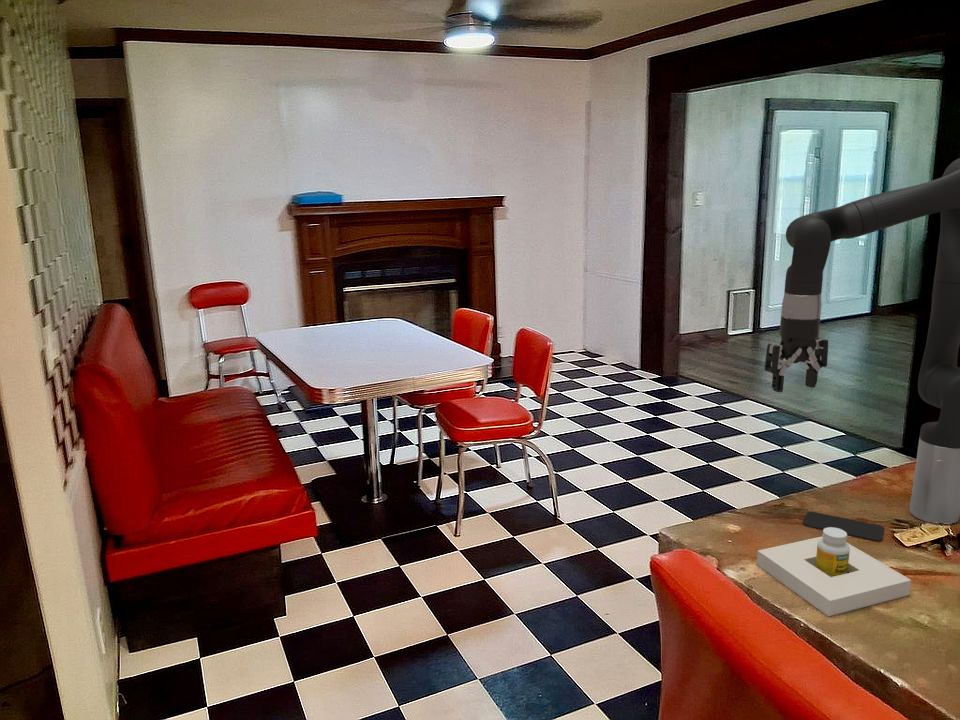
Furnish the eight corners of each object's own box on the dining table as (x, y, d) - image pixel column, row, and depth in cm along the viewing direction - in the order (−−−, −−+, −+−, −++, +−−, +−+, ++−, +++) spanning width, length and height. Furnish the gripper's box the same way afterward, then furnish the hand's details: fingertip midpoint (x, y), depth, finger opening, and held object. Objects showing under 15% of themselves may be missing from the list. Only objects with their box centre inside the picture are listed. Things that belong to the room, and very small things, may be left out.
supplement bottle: (824, 568, 137) (829, 522, 135) (852, 580, 133) (857, 533, 130) (808, 577, 134) (812, 530, 132) (835, 590, 130) (841, 542, 128)
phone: (807, 510, 160) (884, 526, 152) (807, 513, 160) (884, 529, 152) (801, 524, 154) (881, 540, 146) (801, 527, 154) (881, 544, 146)
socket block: (830, 547, 144) (832, 534, 144) (909, 595, 128) (911, 580, 127) (756, 564, 139) (757, 550, 138) (828, 616, 122) (830, 600, 122)
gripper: (814, 308, 156) (807, 381, 160) (760, 314, 151) (754, 388, 155) (841, 314, 149) (834, 390, 153) (785, 320, 144) (779, 398, 148)
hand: (793, 389), depth 154 cm, fingers open, 8 cm apart
